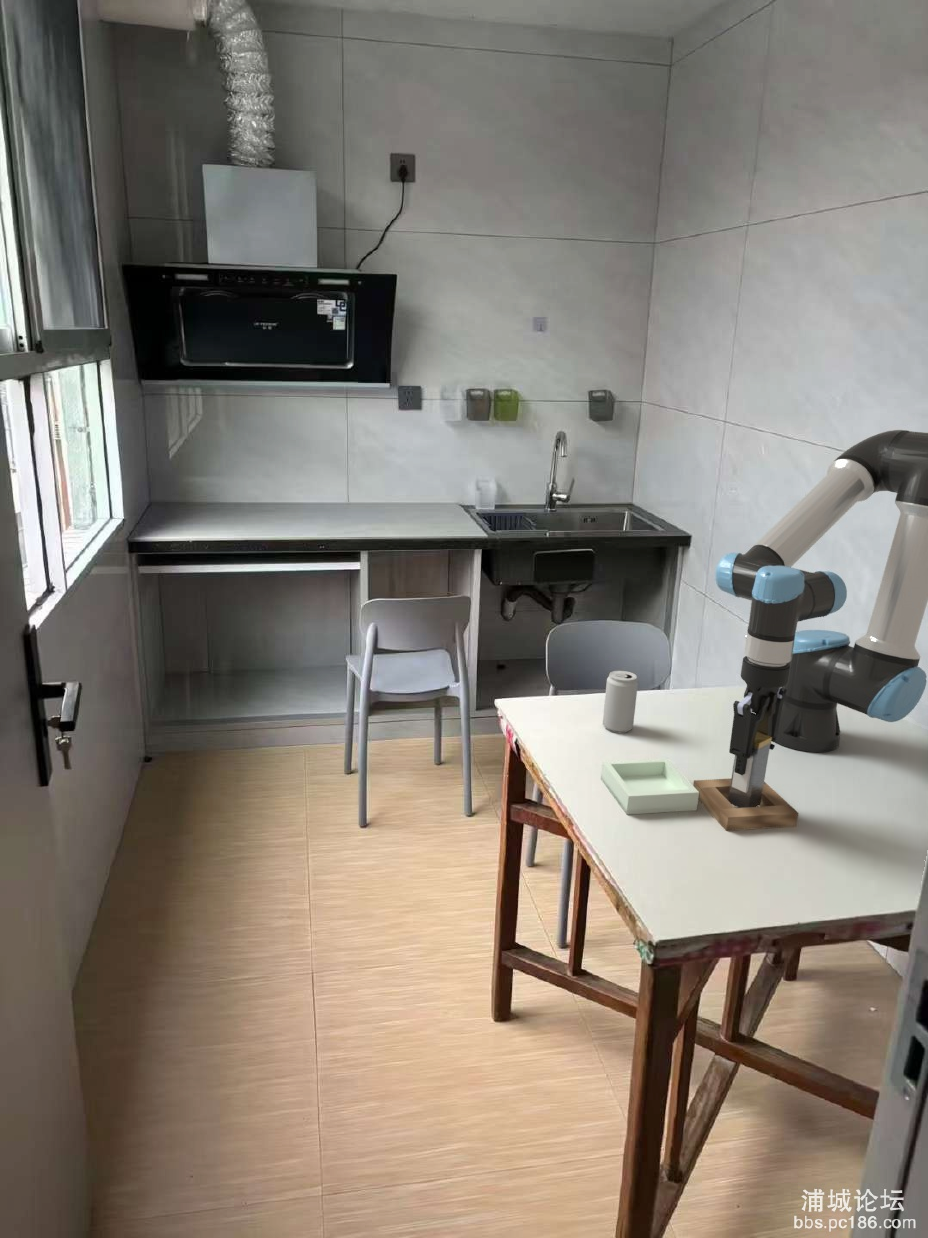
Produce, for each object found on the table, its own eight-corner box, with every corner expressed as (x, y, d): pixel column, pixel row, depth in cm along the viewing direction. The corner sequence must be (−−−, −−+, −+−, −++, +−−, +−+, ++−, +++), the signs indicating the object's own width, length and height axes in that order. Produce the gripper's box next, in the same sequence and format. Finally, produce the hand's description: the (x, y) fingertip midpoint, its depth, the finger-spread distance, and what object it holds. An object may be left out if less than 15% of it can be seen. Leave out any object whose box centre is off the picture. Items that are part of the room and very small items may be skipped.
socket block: (757, 789, 160) (759, 776, 159) (796, 826, 148) (798, 813, 147) (692, 792, 157) (693, 780, 157) (726, 830, 145) (728, 817, 144)
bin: (665, 775, 163) (668, 758, 162) (696, 810, 151) (699, 792, 150) (600, 778, 161) (602, 761, 160) (626, 814, 149) (628, 796, 148)
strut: (740, 795, 155) (750, 728, 151) (760, 804, 152) (771, 737, 148) (727, 802, 152) (737, 734, 149) (748, 811, 150) (759, 743, 146)
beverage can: (632, 736, 180) (638, 682, 176) (601, 732, 181) (606, 678, 177) (632, 723, 186) (639, 671, 182) (602, 720, 187) (608, 667, 183)
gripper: (772, 643, 152) (753, 763, 159) (718, 663, 141) (700, 791, 148) (813, 655, 147) (791, 778, 154) (760, 677, 136) (739, 809, 143)
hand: (747, 784), depth 151 cm, fingers closed on strut, 4 cm apart
